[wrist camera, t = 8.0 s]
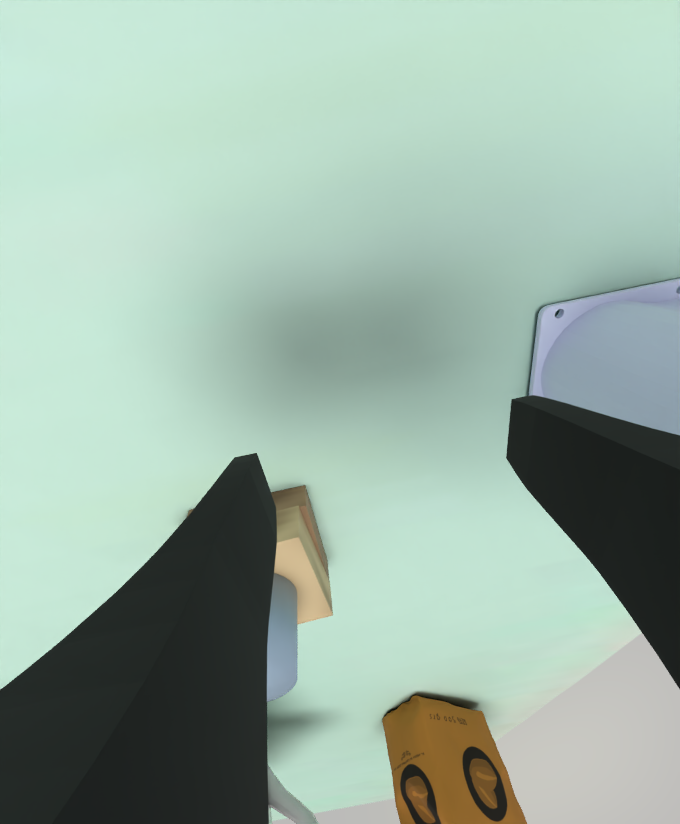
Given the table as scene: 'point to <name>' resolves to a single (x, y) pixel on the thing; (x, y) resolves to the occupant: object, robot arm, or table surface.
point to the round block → (282, 639)
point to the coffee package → (447, 766)
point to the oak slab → (302, 566)
